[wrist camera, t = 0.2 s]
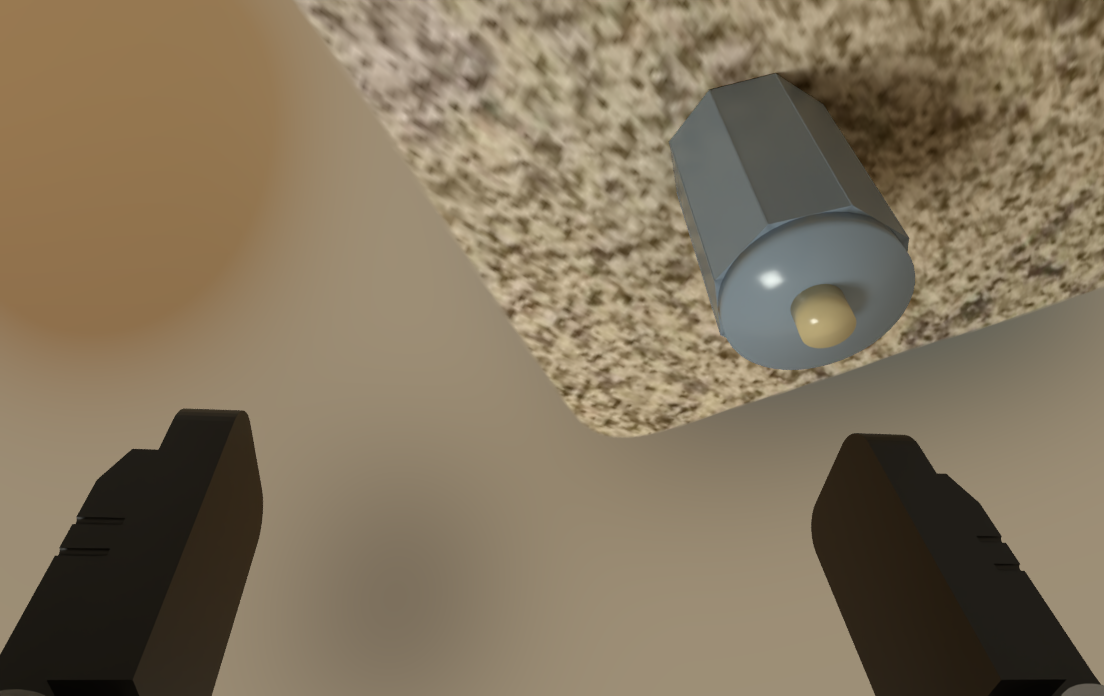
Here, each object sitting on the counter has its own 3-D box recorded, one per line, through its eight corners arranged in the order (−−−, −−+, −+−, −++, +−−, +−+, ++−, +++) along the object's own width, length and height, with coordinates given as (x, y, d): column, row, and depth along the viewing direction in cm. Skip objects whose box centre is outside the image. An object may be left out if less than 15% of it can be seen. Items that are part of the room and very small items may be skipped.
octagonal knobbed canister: (739, 49, 30) (830, 218, 22) (855, 124, 32) (973, 298, 25) (642, 175, 34) (689, 357, 26) (752, 233, 36) (826, 415, 28)
